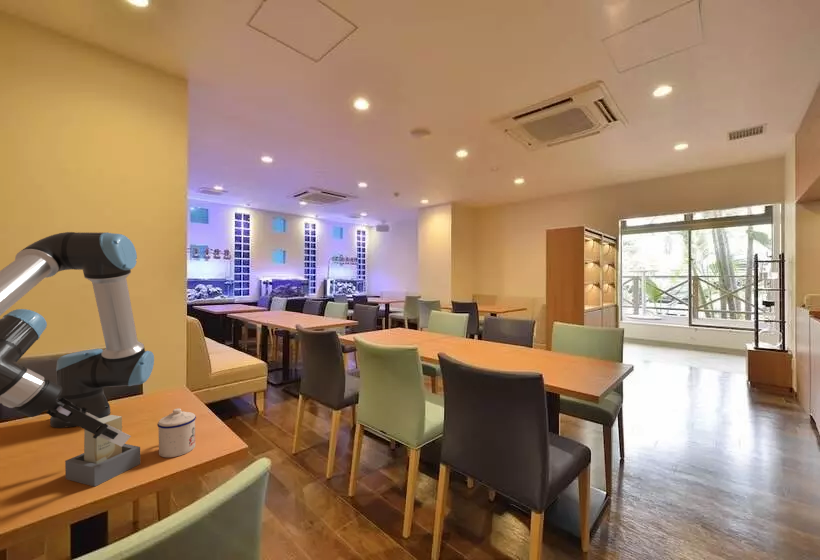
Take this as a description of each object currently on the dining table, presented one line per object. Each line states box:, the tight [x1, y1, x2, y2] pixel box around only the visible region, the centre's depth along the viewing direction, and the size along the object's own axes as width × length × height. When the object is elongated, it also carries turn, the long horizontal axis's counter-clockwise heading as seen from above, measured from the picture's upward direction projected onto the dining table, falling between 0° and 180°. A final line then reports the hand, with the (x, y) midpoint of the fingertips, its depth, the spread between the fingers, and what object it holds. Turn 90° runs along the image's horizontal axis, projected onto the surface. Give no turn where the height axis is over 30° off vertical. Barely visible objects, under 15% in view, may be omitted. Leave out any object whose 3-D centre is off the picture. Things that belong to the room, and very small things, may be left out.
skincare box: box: [83, 414, 123, 464], centre depth 89 cm, size 6×4×12 cm
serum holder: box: [64, 443, 141, 488], centre depth 89 cm, size 10×10×4 cm
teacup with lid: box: [157, 408, 197, 458], centre depth 101 cm, size 12×9×12 cm
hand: (115, 434), depth 91 cm, fingers open, 13 cm apart
